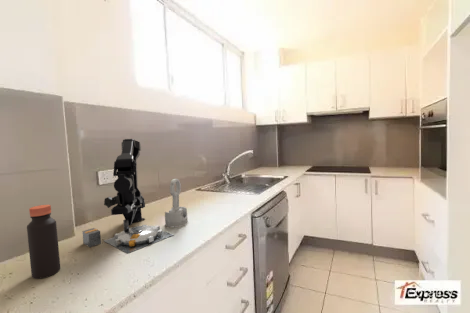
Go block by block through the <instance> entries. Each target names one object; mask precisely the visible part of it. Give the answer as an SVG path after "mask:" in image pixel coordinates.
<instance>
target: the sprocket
mask: <svg viewBox="0 0 470 313" xmlns="http://www.w3.org/2000/svg"><path fill="white" fill-rule="evenodd" d="M160 227H161V226H160V225H147V224H142V225H137V226H133V227H130V226H129V223H128V219H125V218H124V219H123V230H122V231H120V232H119V233H118V232H117V233H114V237H115V244H116V245H120V244H123V245H129V246H135V245H137V244H142V243H146V242H152V241H154V239H155V238H157V237H158V236H162V231H163V229H161V228H160Z"/></svg>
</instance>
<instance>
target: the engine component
mask: <svg viewBox="0 0 470 313" xmlns="http://www.w3.org/2000/svg"><path fill="white" fill-rule="evenodd" d="M175 187H176V189H175ZM181 191H182V184H181V181H180V179H178V178H173V179H171V181H170V183H169V193H170V195H171V198H172V207H171V208H170V209H169V210H168V211H165V212H164V219H165V221H164V222H165V223H164V224H165V226H166V227H168V228H175V227H176V228H177V227H182V226H185V225H187V224H188V223H189V221H188V220H189V219H188V210H187V207H186V206H180V194H181Z"/></svg>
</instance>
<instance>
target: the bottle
mask: <svg viewBox="0 0 470 313" xmlns="http://www.w3.org/2000/svg"><path fill="white" fill-rule="evenodd" d="M51 215H52V207H51V204H42V205H41V204H40V205H36V206H32V207H30V208H29V217H30V219H31V221H30V222H29V223H28V224H27V226H26V231H27V234H26V235H27V241H28V242H27V243H28V244H27V245H28V253H29V262H30V263H29V264H30V272H31V273H30V274H31V278H33V279H36V280H39V279H45V278H49V277H51V276H52V275H53V276H54V275H55V274H56V273H58V272H60V270H61V260H60V259H61V257H60V249H59V238H58V229H57V228H58V227H57V226H58V225H57V221H56V220H55V219H54V218H53V217H51Z"/></svg>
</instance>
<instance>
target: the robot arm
mask: <svg viewBox="0 0 470 313" xmlns="http://www.w3.org/2000/svg"><path fill="white" fill-rule="evenodd" d="M141 151H142V146H141V142H140V141H138V140H135V139H134V138H124V139H122V142H121V154H119V155H117V157H116V159H115V161H114V163H113V175H112V176H113V177H117V179H116V180H115V181H114V182H113V188H114V190H115V191H116V195H114V196H112V197H111V196H108V197H105V198H104V201H103V202H104V203H103V205H104V206H106V207H107V208H108V209H110V208H111V207H112V206H113V207H112V208H111V209H110V212H111V215H112V216H116V215H117V216H118V215H122V216H123V217H124V220H125V219H128V223H129V227H130V226H132V224H135V223H138V222H141V221H145V220H146V219H145V218H144V217H142V209H144V208H146V202H145V198H144V197H143V195H142V192H141V190H140V189H139V188H138V187H139V184H138V182H139V181H138V161H137V160H138V158H140V155H141Z"/></svg>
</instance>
